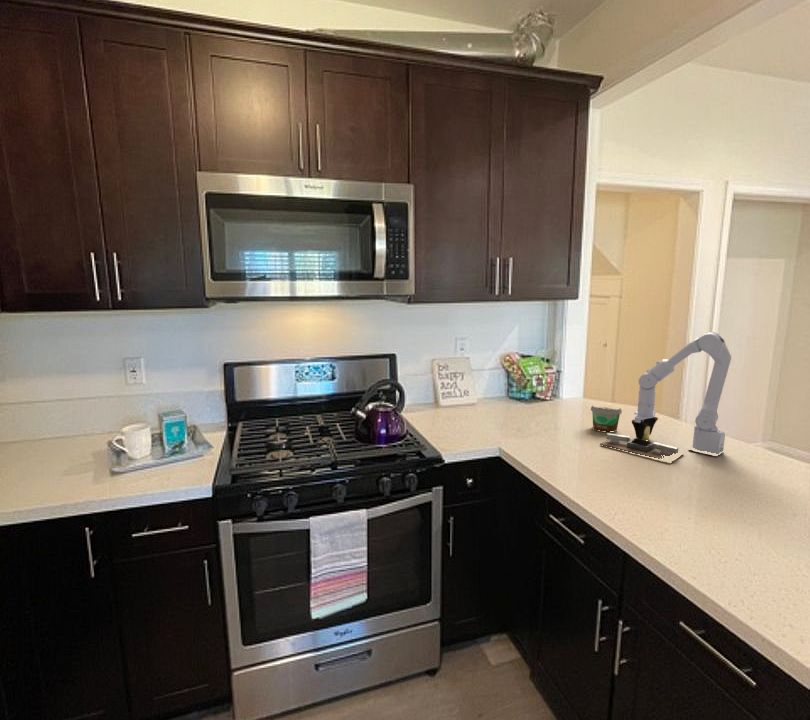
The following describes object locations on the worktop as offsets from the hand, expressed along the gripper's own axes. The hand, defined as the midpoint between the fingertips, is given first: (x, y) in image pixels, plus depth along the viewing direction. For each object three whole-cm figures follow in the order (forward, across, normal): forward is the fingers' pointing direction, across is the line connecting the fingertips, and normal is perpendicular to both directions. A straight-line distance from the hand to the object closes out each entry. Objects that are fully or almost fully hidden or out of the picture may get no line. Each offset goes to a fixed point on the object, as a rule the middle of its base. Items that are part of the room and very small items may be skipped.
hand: (643, 436), depth 187 cm
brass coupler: (+2, 0, 0) cm, 2 cm away
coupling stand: (+2, +12, +4) cm, 13 cm away
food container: (+2, 0, -16) cm, 16 cm away
